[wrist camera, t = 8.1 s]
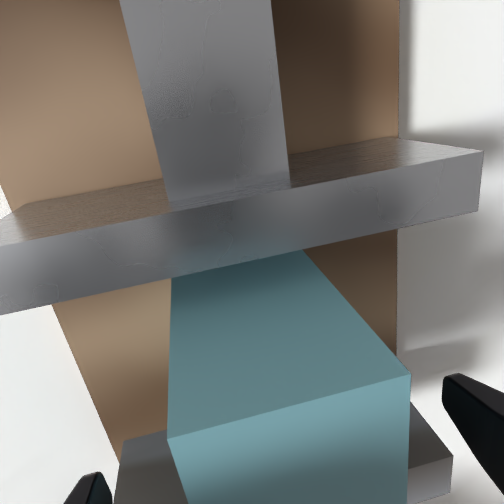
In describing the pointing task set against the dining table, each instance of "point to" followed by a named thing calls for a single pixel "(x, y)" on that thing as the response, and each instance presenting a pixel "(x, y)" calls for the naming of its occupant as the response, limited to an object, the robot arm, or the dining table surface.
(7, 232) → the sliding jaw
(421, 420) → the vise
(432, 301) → the dining table surface
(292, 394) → the workpiece block
